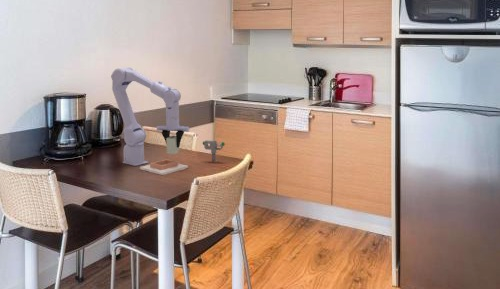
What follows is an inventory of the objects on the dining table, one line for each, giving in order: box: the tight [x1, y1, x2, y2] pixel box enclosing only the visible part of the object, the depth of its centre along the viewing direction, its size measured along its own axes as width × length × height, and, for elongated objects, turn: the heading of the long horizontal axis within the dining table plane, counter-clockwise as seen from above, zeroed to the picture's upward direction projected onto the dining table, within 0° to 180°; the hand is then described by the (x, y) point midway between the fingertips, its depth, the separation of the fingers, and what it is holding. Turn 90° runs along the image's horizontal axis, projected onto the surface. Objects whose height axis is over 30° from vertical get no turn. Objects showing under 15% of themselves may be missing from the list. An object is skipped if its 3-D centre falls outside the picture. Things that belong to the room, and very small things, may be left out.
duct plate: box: [139, 159, 189, 176], centre depth 202 cm, size 15×15×3 cm
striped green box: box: [165, 135, 180, 155], centre depth 203 cm, size 6×4×7 cm, turn 172°
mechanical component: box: [202, 140, 226, 163], centre depth 214 cm, size 3×10×10 cm, turn 78°
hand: (173, 146), depth 204 cm, fingers closed on striped green box, 4 cm apart
